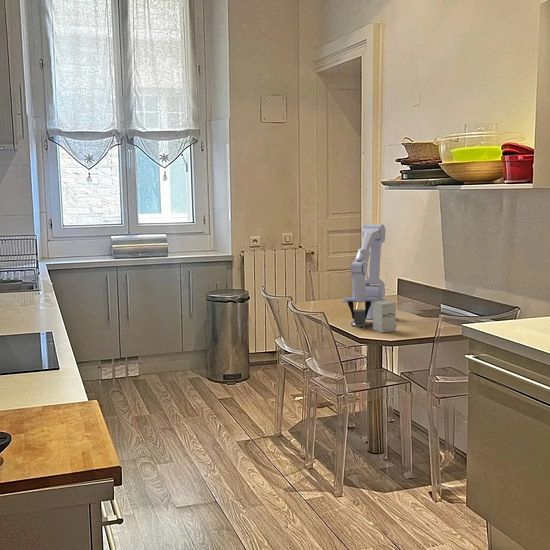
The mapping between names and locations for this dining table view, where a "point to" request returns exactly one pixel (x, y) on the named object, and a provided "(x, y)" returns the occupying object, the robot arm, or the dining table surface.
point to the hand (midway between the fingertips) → (359, 318)
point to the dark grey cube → (359, 315)
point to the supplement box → (384, 316)
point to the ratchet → (361, 324)
